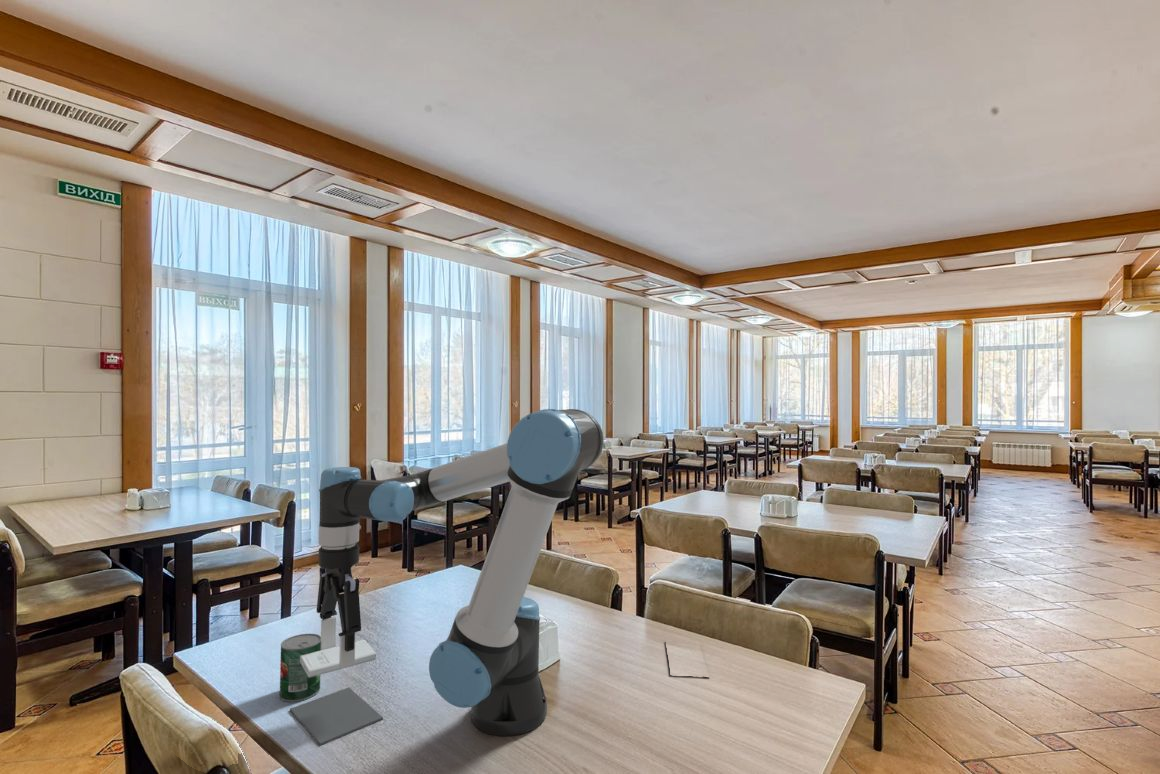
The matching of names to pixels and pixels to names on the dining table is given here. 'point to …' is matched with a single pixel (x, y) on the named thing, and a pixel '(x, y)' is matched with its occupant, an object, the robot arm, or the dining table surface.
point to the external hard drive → (334, 659)
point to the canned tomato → (298, 668)
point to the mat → (335, 715)
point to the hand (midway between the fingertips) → (337, 657)
